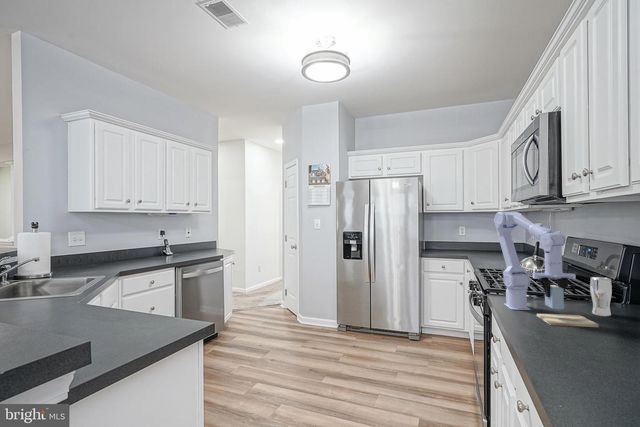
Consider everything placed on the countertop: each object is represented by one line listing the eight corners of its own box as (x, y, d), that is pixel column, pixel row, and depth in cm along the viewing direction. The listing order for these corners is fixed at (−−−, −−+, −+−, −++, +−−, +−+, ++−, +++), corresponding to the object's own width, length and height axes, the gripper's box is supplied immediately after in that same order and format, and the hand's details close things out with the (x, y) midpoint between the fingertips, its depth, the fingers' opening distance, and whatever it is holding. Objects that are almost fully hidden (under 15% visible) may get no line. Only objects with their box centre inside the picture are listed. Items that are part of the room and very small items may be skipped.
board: (536, 316, 139) (536, 313, 139) (580, 317, 136) (579, 315, 136) (550, 325, 127) (550, 322, 127) (598, 327, 124) (598, 324, 124)
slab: (545, 304, 136) (544, 284, 136) (555, 304, 135) (555, 285, 135) (552, 308, 130) (552, 288, 130) (563, 309, 129) (563, 288, 129)
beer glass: (589, 311, 144) (588, 276, 144) (610, 313, 141) (609, 277, 141) (592, 315, 138) (591, 279, 138) (614, 317, 135) (613, 280, 135)
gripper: (537, 264, 130) (538, 298, 130) (579, 264, 127) (580, 299, 127) (530, 261, 137) (530, 294, 137) (569, 261, 134) (570, 295, 134)
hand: (554, 296), depth 132 cm, fingers closed on slab, 4 cm apart
